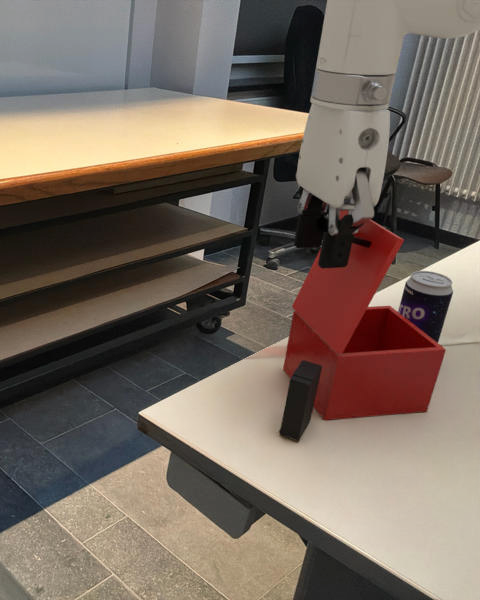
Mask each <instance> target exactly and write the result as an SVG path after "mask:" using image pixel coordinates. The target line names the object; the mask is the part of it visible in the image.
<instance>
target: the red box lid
mask: <svg viewBox="0 0 480 600" xmlns="http://www.w3.org/2000/svg"><path fill="white" fill-rule="evenodd" d="M345 215H348V210H340V217H339V220H341V219H342V218H343V217H344V216H345ZM317 227H318V229H319V230H321V231H322V232H323V233H324V232H329V215H327V216H322V217H321V218H320V219H319V220H318V222H317ZM404 241H405V239H403V238H402V237H401V236H399V235H397V234H395V233H394V232H392V231H391V230H389V229H387V228H386V227H384V226H382V225H381V224H379V223H377V222H376V221H374V220H372V219H370V220H369V221H367V222H365V223H364V224H363V225H362V226H361V227H360V228H359V229H358V233H357V234H354V237H353V241H352V246H351V251H350V255H349V260H348V264H347V266H346V267H341V268H321V267H320V266H319V265H318V261H319V256H320V251H321V248H320V249H319V251H318V253H317V254H316V257H315V258H314V261H313V262H312V265H311V267H310V269H309V271H308V273H307V275H306V277H305V279H304V281H303V283H302V285H301V287H300V289H299V290H298V293H297V296H296V297H295V299H294V301H293V303H292V306H291V308H292V309H293V310H294V311H296V312H297V313H298V314H299V315H300V316H301V317H302V318H303V319H304V320H305V321H306V322H307V323H308V324H309V325H310V326H311V327H312V328H313V329H314V330H315V331H316V332H317V333H318V334H319V335H320V336H321V337H322V338H323V339H324V340H325V341H326V342H327V343H328V344H329V345H330V346H331V347H332V348H333V349H334V350H335V351H336V352H337V353H341V354H342V353H343V351H344V350H345V348H346V346H347V344H348V342H349V340H350V339H351V337H352V335H353V333H354V331H355V329H356V328H357V326H358V324H359V322H360V320H361V318H362V317H363V315H364V313H365V311H366V309H367V307H370V303H371V302H372V300H373V298H374V297H375V295H376V293H377V291H378V289H379V288H380V285H381V284H382V282H383V280H384V278H385V277H386V274H387V273H388V271H389V269H390V268H391V266H392V263H393V262H394V260H395V259H396V256H397V254H398V253H399V251H400V249H401V247H402V245H403V244H404Z"/></svg>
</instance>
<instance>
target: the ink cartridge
mask: <svg viewBox="0 0 480 600" xmlns="http://www.w3.org/2000/svg"><path fill="white" fill-rule="evenodd" d="M321 370H322V366H321V365H318V364H315V363H311V362H308V361H305V360H303V361H301V363H300V364H299V366H298V367H297V369H296V370H295V371H294V373H293V375H292V377H291V378H290V377H289V382H288V383H289V384H288V388H287V394H286V397H285V404H284V408H283V414H282V420H281V424H280V428H279V430H278V434H279V435H280V436H283V437H285V438H288V439H291V440H293V441H296V442H300V441H301V439H302V438H303V435H304V433H305V431H306V430H307V428H308V426H309V424H310V423H311V421H312V420H311V419H312V415H313V410H314V402H315V397H316V393H317V388H318V384H319V379H320V375H321Z"/></svg>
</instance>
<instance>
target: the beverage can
mask: <svg viewBox="0 0 480 600" xmlns="http://www.w3.org/2000/svg"><path fill="white" fill-rule="evenodd" d="M452 285H453V280H452V279H451V278H450V277H448V276H447V275H444V274H442V273H438V272H434V271H429V270H417V271H413V272H411V274H410V277H409V278H408V279H407V280H406V281H405V284H404V288H403V291H402V295H401V299H400V303H399V307H398V310H397V312H399V313H400V314H401V315H403V316H404V317H405V318H406V319H408V320H409V321H410V322H411V323H413V324H414V325H415V326H417V327H418V328H419V329H420V330H422V331H423V332H424V333H425V334H427V335H428V336H429V337H431V338H432V339H433V340H434V341H436V342H437V343H438V344H439V341H440V337H441V334H442V332H443V328H444V325H445V322H446V319H447V315H448V312H449V308H450V305H451V301H452V297H453V294H454V290H453V286H452Z"/></svg>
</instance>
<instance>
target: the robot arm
mask: <svg viewBox="0 0 480 600" xmlns="http://www.w3.org/2000/svg"><path fill="white" fill-rule="evenodd" d="M321 30H322V31H321V36H320V41H319V47H318V54H317V60H316V64H315V65H316V66H315V71H314V77H313V83H312V88H311V94H310V100H309V102H310V103H311V105H310V109H309V112H308V115H307V119H306V123H305V127H304V132H303V134H302V135H303V136H302V140H301V143H300V144H301V145H300V150H299V154H298V162H297V166H296V167H297V170H296V172H295V179H296V183H297V186H298V191H297V192H298V196H299V202H298V205H297V211H298V213H299V214H298V218H297V223H296V229H295V235H294V242H293V246H294V247H295V248H296V249H309V248H311V249H313V248H320V249H321V251H320V250H319V251H320V256H319V261H318V265H319V266H320V267H321V268H341V267H346V266H347V264H348V260H349V255H350V251H351V246H352V241H353V237H354V234H357V233H358V229H359V228H360V227H361V226H362V225H363V224H364V223H365V222H367V221H369V220H370V219H371V220H372V219H373V218H374V216H375V209H374V207H375V206H377V204H378V203H379V201H380V197H381V192H382V188H383V184H384V183H383V182H384V177H385V171H386V165H387V158H388V153H389V143H390V132H391V131H390V130H391V129H390V128H391V111H390V110H389V107H390V102H391V97H392V94H393V93H392V92H393V90H394V89H393V88H394V84H395V81H396V80H395V79H396V73H397V70H398V65H399V60H400V56H401V53H402V47H403V43H404V39H405V36H406V35H408V34H413V35H416V36H421V37H430V38H435V39H459V38H462V37H467V36H470V35H471V34H474V33H476V32H478V31H480V0H326V5H325V12H324V18H323V23H322V29H321ZM347 199H348V200H349V199H350V200H349V203H345V200H347ZM327 205H329V206H328V214H327V213H326V212H325V210H326V208H327ZM340 210H348V215H345V216H344V217H343V218H342V219H341V220H339V217H340ZM322 216H329V232H324V233H323V232H322V231H321V230H319V229H318V227H317V222H318V220H319V219H320V218H321V217H322Z"/></svg>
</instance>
